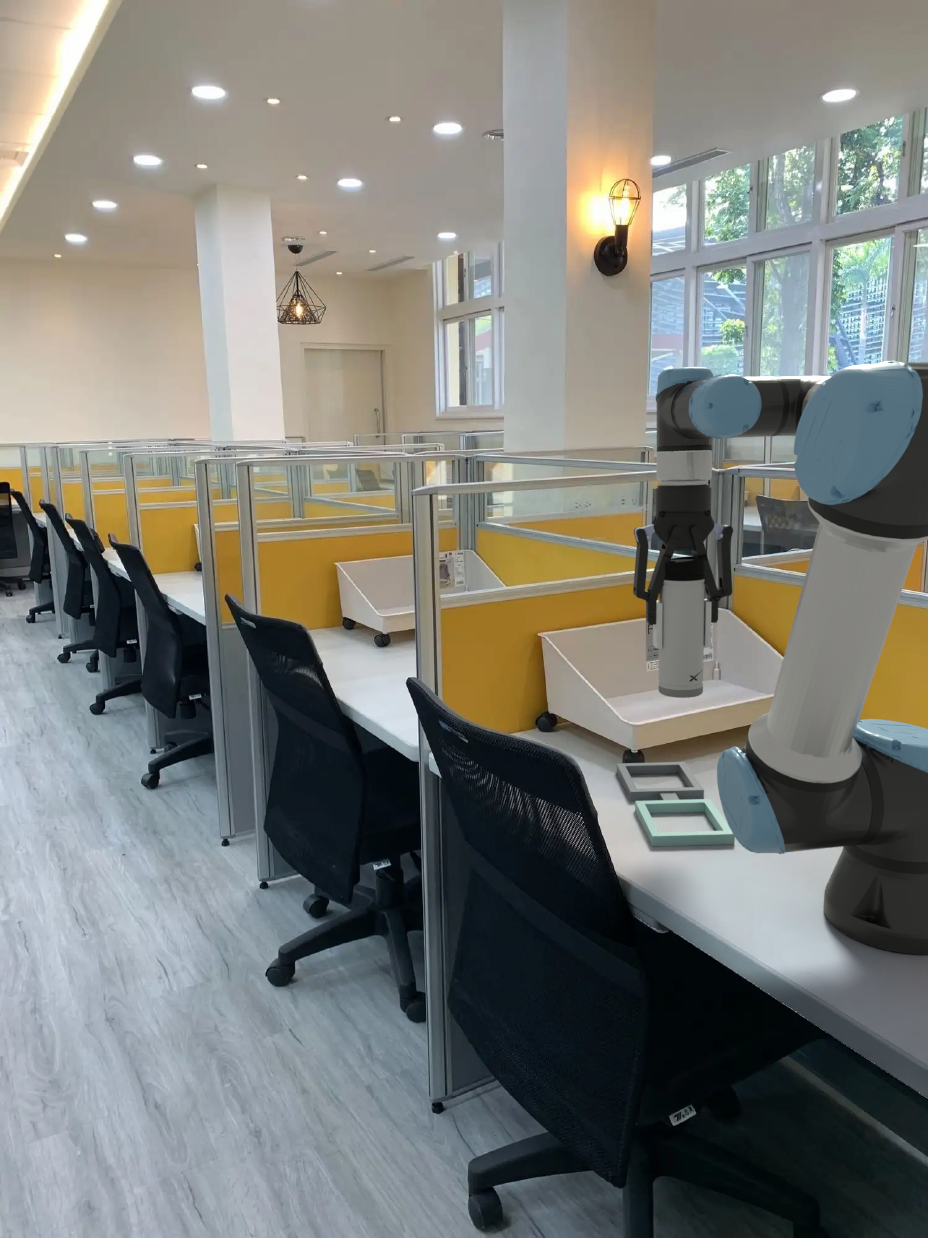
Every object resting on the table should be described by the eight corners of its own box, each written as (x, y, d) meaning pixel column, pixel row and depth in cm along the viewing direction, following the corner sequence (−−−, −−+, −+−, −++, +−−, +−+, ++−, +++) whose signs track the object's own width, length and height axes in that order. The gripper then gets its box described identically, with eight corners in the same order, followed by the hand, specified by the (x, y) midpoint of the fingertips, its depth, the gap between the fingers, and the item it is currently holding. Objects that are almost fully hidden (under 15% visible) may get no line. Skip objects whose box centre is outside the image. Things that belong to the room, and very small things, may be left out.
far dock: (710, 808, 140) (710, 799, 140) (635, 810, 140) (635, 801, 140) (684, 770, 156) (684, 761, 156) (616, 772, 156) (616, 763, 156)
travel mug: (706, 698, 130) (708, 557, 127) (658, 697, 132) (659, 557, 128) (704, 688, 136) (706, 552, 133) (658, 686, 138) (659, 552, 134)
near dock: (734, 844, 128) (734, 834, 128) (652, 846, 128) (652, 836, 128) (710, 808, 140) (710, 799, 140) (635, 810, 140) (635, 801, 140)
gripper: (744, 480, 132) (740, 639, 136) (610, 484, 132) (610, 642, 136) (761, 481, 125) (756, 649, 129) (619, 485, 125) (619, 653, 129)
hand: (681, 645), depth 133 cm, fingers closed on travel mug, 6 cm apart
